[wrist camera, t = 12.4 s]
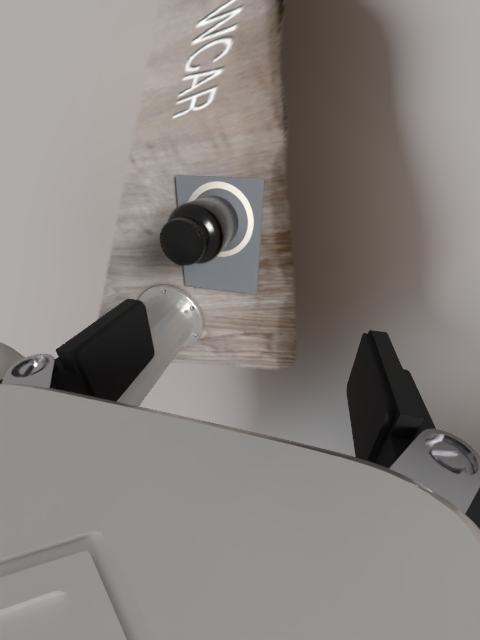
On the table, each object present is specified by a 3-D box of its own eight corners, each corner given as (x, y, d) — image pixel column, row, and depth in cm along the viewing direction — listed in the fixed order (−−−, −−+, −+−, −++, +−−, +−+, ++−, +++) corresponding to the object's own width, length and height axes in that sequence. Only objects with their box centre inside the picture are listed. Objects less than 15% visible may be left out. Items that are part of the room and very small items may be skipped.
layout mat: (257, 292, 41) (256, 295, 41) (186, 284, 43) (184, 286, 43) (264, 178, 33) (263, 178, 32) (177, 175, 35) (174, 175, 35)
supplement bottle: (185, 225, 38) (139, 246, 28) (210, 183, 34) (167, 189, 24) (222, 256, 39) (190, 287, 29) (250, 218, 35) (225, 238, 25)
